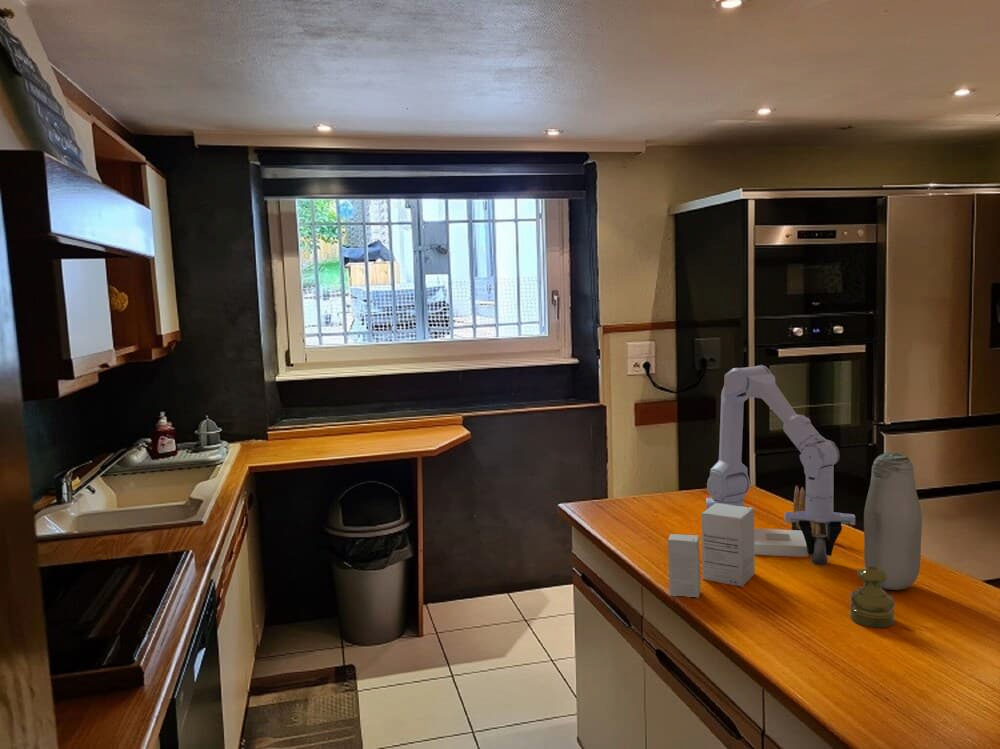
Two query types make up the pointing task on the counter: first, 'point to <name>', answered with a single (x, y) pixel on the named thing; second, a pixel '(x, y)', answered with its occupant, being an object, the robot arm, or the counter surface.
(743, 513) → the supplement box
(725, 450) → the robot arm
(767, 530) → the socket block
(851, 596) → the olive green knobbed piece
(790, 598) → the counter surface
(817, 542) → the metal peg
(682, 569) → the skincare box
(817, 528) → the ammunition clip
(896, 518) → the grey bottle
